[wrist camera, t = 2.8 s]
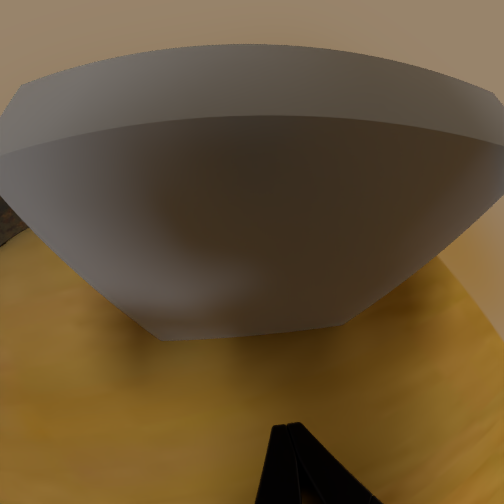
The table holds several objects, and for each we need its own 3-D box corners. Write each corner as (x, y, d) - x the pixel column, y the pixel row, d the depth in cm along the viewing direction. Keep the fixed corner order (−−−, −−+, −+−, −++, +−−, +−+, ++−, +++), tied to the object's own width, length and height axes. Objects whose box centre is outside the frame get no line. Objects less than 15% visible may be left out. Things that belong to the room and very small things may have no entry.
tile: (342, 324, 16) (538, 156, 4) (160, 340, 16) (-26, 164, 3) (335, 286, 17) (486, 85, 5) (160, 300, 16) (27, 76, 4)
